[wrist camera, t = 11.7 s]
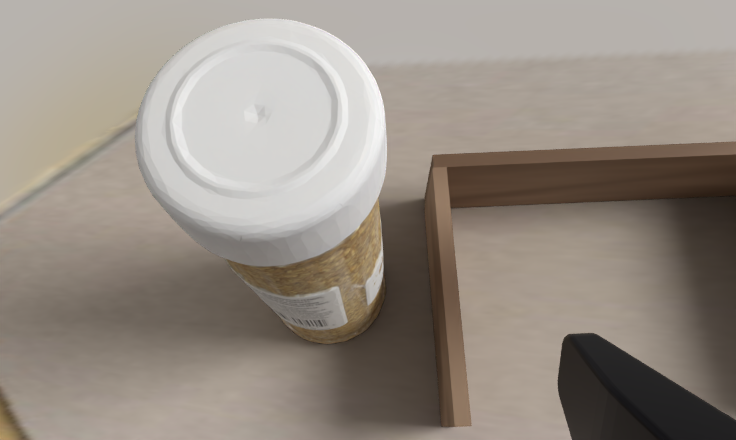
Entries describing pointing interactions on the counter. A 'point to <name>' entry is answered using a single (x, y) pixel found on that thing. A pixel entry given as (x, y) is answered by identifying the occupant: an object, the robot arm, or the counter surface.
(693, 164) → the wooden tray
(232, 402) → the counter surface
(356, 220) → the sprinkles bottle
